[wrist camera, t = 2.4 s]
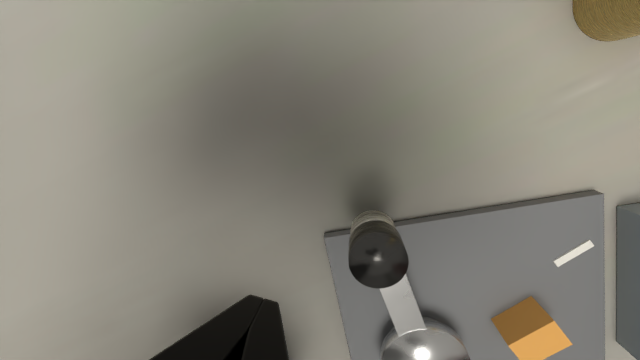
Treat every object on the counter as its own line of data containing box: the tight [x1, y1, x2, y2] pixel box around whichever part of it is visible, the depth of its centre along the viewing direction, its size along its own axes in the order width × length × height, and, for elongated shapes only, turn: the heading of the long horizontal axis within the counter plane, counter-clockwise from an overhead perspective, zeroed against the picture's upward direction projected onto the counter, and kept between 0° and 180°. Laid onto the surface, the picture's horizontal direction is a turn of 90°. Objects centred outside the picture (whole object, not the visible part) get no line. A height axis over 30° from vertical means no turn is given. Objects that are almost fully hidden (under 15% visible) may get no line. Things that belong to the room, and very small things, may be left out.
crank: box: [348, 210, 470, 360], centre depth 18 cm, size 14×6×5 cm, turn 22°
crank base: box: [324, 190, 605, 360], centre depth 21 cm, size 17×16×3 cm
